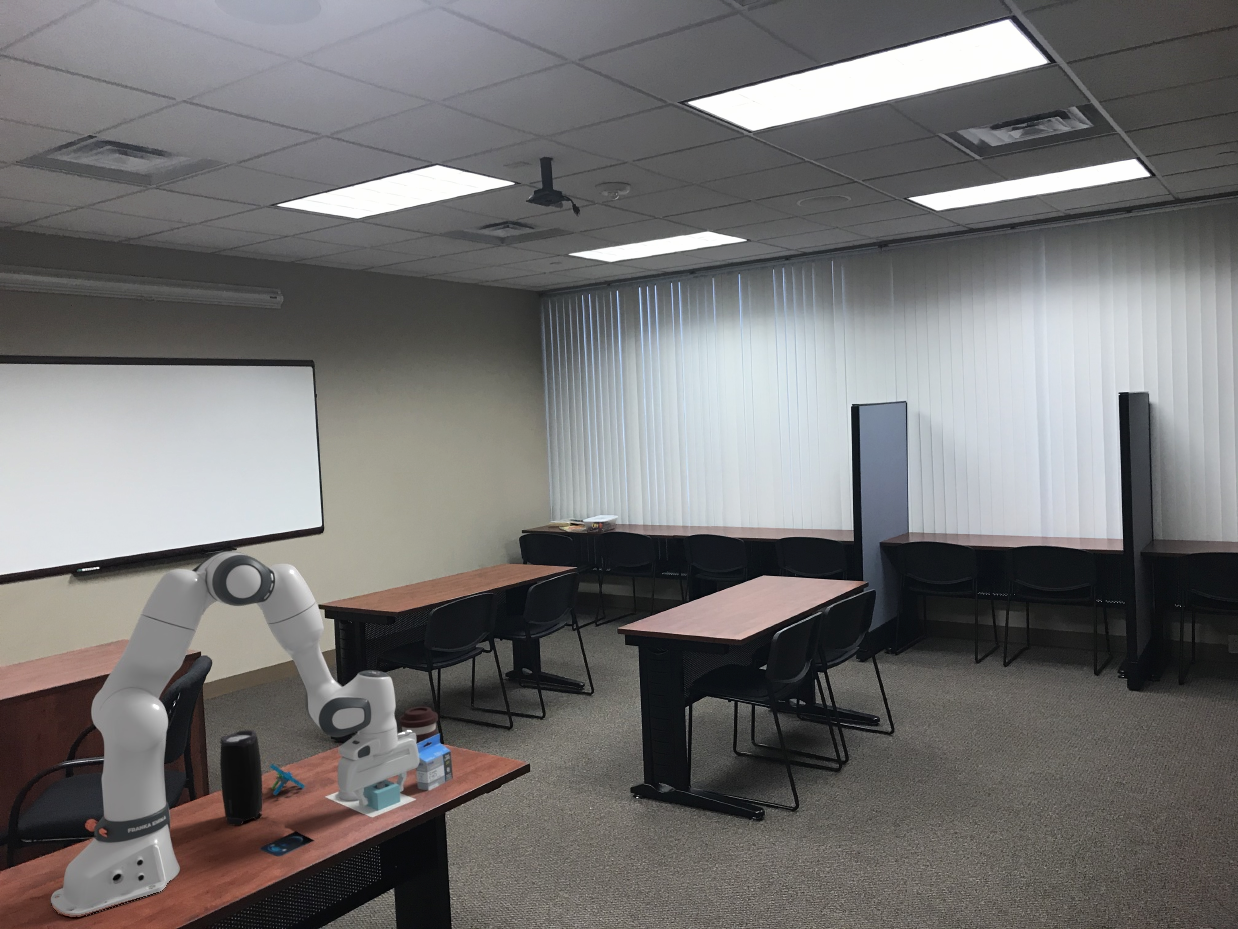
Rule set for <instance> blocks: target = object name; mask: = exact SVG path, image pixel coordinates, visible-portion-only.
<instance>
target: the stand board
mask: <svg viewBox="0 0 1238 929" xmlns="http://www.w3.org/2000/svg"><path fill="white" fill-rule="evenodd" d="M383 788H385V781H380V782H378V783H377V789H378V790H380V789H383ZM362 794H363V792H362ZM325 798H326V799H328V800H330V801H334V802H335V803H337V804H339V805H343V806H344V807H346V808H349V809H352V810H354V811H356V812H358V813H361V814H363V815H366V816H367V817H370V818H374V817H377V816H379V815H382V814H385V813H387V812H389V811H391V810H392V811H393V810H395V809H396V808H400V807H402V806H404V805H407V804H408V803H412V802H414V801H416V800H417V798H415V797H412V796H408V795H406V794H404V793H402V792H400V802H399V803H396V804H394V805H391V806H389V807H386V808H384V809H381V810H379V811H378V810H376V809H373V808H371V807H369V806H364V807H362V806H360V805H359V798H358V797H357V796H356V794H355V793H354V792H351V793H346V792H344V791H342V790H341V789H340V788H339V790H338V791H336V792H334V793H331V794H328V795H326V796H325Z"/></svg>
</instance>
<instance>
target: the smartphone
mask: <svg viewBox="0 0 1238 929" xmlns="http://www.w3.org/2000/svg"><path fill="white" fill-rule="evenodd" d="M313 842H315V839H313V838H310V837H309V836H306V835H305V834H303V833H300V832H299V831H296V830H295V831H293V832H291V833H288V834H286V835H284V836H282V837H280V838H278V839H275V840H274V841H272V842H271V841H270V842H269V843H266V844H265V845H263V846H261V847H260V848H259V850H260V851H262V852H264V853H268V854H270V855H273V856H275V857H283V856H284V855H286V854H289V853H291V852H294V851H295V850H297V849H300V848H301V847H304V846H306V845H308V844H310V843H313Z"/></svg>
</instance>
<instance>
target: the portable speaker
mask: <svg viewBox="0 0 1238 929" xmlns="http://www.w3.org/2000/svg"><path fill="white" fill-rule="evenodd" d="M219 743H220V754H219V755H220V758H219V760H220V763H219V765H220V767H219V768H220V780H221V781H220V782H221V794H222V795H221V796H222V802H223V809H224V814H225V818H226V822H227V824H228V825H231V826H241V825H242V824H243V823H244V822H246V821H249V820H251V819H255V820H260V819H261V817H262V816H263V813H261V812H263V776H262V762H261V761H262V760H261V753H260V746H259V745H260V744H259V741H258V734H257V733H256V732H255V731H254V730H252V729H244V730H243V729H242V730H239V731H237V732H235V733H231V734H228V735H223V736H221V737H220V741H219Z"/></svg>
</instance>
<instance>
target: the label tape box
mask: <svg viewBox="0 0 1238 929" xmlns="http://www.w3.org/2000/svg"><path fill="white" fill-rule="evenodd" d="M440 739H441V733H438V734H437V735H435V736H433V737H431V738H428V739H426V740H424V741H422V742H419V743H417V748H418V753H419V761H420V762H419V765H418V767H417V768H415V772H416V783H417V789H419V790H422V791H423V790H424V791H428V792H429V791H432V790H433V789H435V788H437V787H439V786H441V785H443V784H445V783H447V782H449V781H450V780H452V779H454V774H453V761H452V751H451V749H449V748H447V747H446V746H445V745H443V744H442V743H441V742H440V741H441V740H440ZM427 742H428V743H430V742H432V743H431V744H430V745H428V746H426V747H423V746H424V745H425V744H427Z"/></svg>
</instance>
